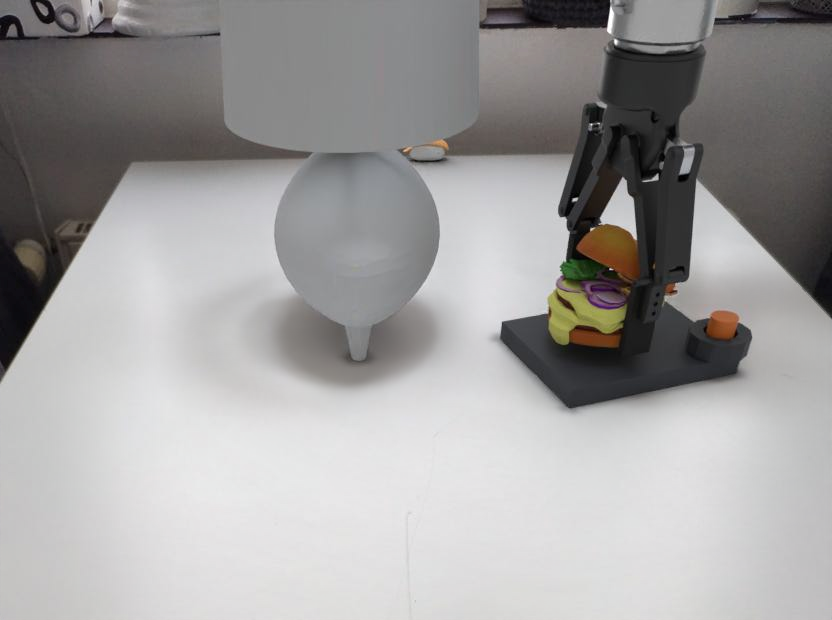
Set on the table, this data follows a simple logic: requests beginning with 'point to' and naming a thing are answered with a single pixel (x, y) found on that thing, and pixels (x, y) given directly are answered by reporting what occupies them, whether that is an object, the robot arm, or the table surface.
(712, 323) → the tare button
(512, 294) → the table surface
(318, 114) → the table lamp
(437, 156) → the sushi
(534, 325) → the scale
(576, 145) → the robot arm
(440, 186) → the table surface
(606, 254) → the cheeseburger
